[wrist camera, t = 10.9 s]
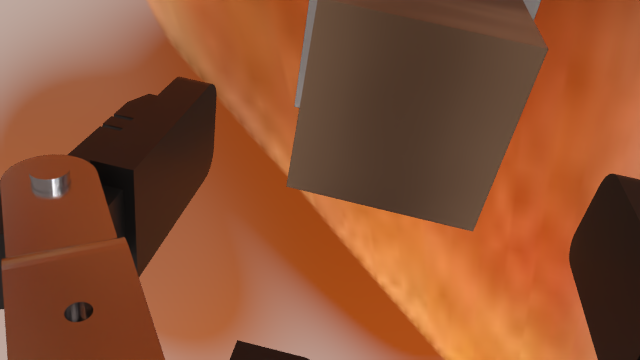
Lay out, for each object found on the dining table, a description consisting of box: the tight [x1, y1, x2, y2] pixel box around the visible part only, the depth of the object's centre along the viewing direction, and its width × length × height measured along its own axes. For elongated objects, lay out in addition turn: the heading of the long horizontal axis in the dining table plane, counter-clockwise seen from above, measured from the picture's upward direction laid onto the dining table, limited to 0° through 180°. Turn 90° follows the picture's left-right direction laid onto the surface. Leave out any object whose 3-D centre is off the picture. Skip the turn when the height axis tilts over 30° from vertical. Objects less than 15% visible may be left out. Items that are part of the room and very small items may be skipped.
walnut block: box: [287, 0, 548, 231], centre depth 16 cm, size 5×5×6 cm
